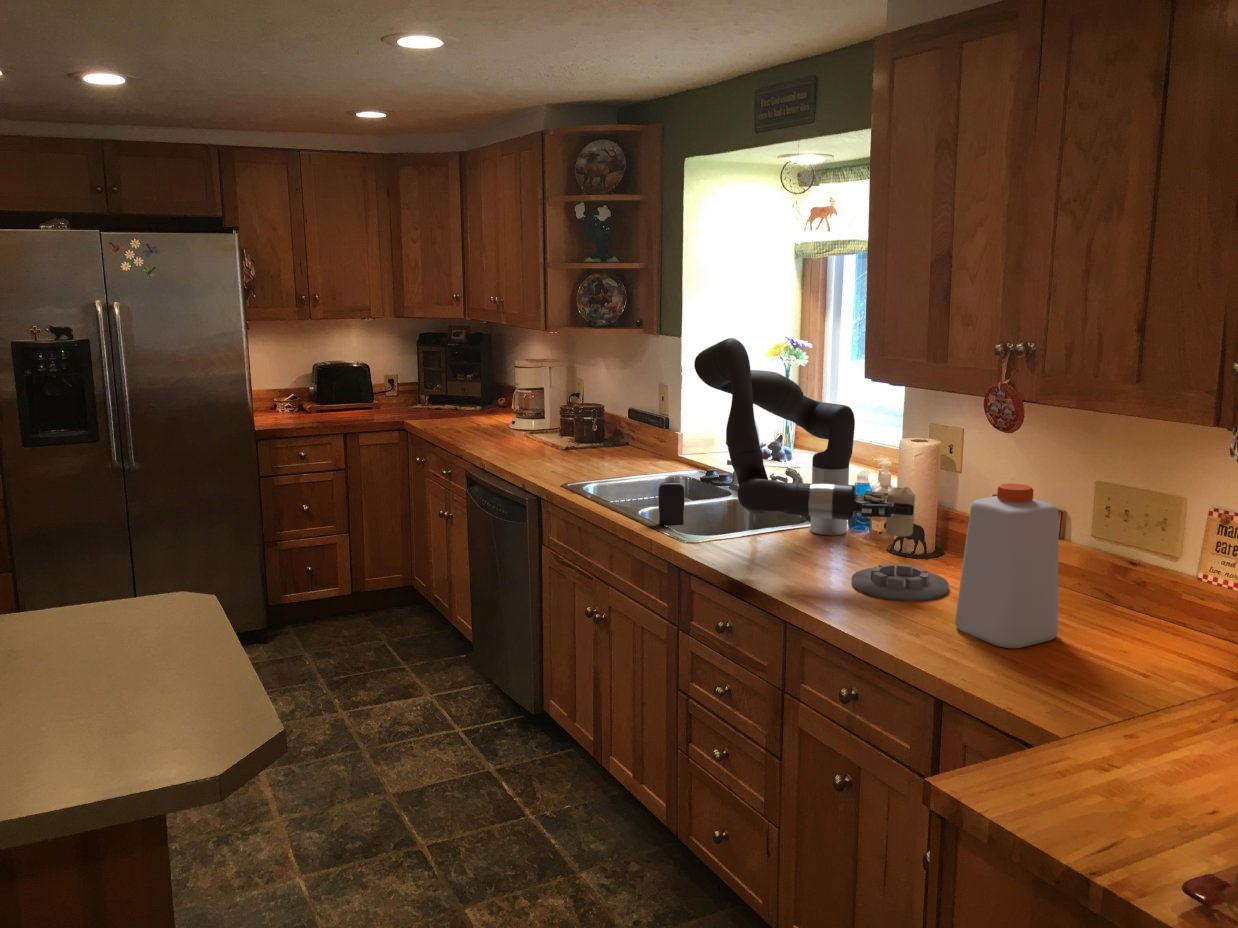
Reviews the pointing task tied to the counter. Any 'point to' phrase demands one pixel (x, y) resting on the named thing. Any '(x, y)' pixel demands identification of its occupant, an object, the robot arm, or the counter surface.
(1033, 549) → the plastic bottle
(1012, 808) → the counter surface
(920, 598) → the candle dish
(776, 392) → the robot arm
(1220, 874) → the counter surface
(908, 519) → the candle
